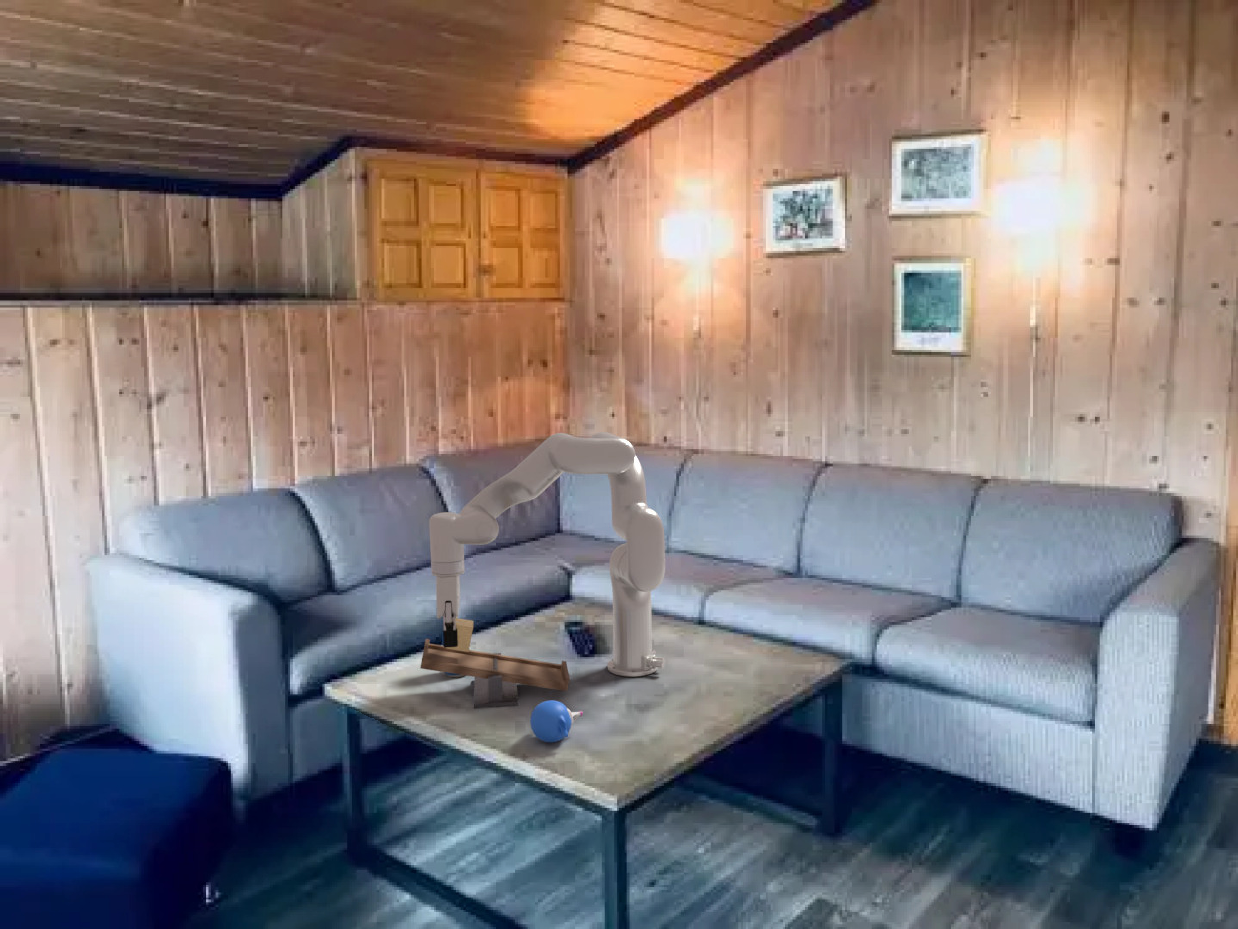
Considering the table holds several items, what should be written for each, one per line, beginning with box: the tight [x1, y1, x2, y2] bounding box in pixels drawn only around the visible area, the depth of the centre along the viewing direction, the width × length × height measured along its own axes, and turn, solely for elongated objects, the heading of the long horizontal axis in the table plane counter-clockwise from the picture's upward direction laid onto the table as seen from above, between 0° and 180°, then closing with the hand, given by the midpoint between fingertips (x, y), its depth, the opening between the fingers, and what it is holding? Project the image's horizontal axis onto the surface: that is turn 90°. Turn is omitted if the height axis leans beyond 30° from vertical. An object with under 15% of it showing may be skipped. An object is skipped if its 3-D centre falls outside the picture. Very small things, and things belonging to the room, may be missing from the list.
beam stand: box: [473, 652, 519, 710], centre depth 248 cm, size 10×18×7 cm, turn 7°
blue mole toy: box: [530, 699, 584, 743], centre depth 222 cm, size 12×12×8 cm
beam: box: [419, 638, 571, 692], centre depth 247 cm, size 34×13×3 cm, turn 97°
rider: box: [447, 617, 474, 652], centre depth 245 cm, size 5×5×6 cm
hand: (451, 641), depth 245 cm, fingers closed on rider, 5 cm apart
